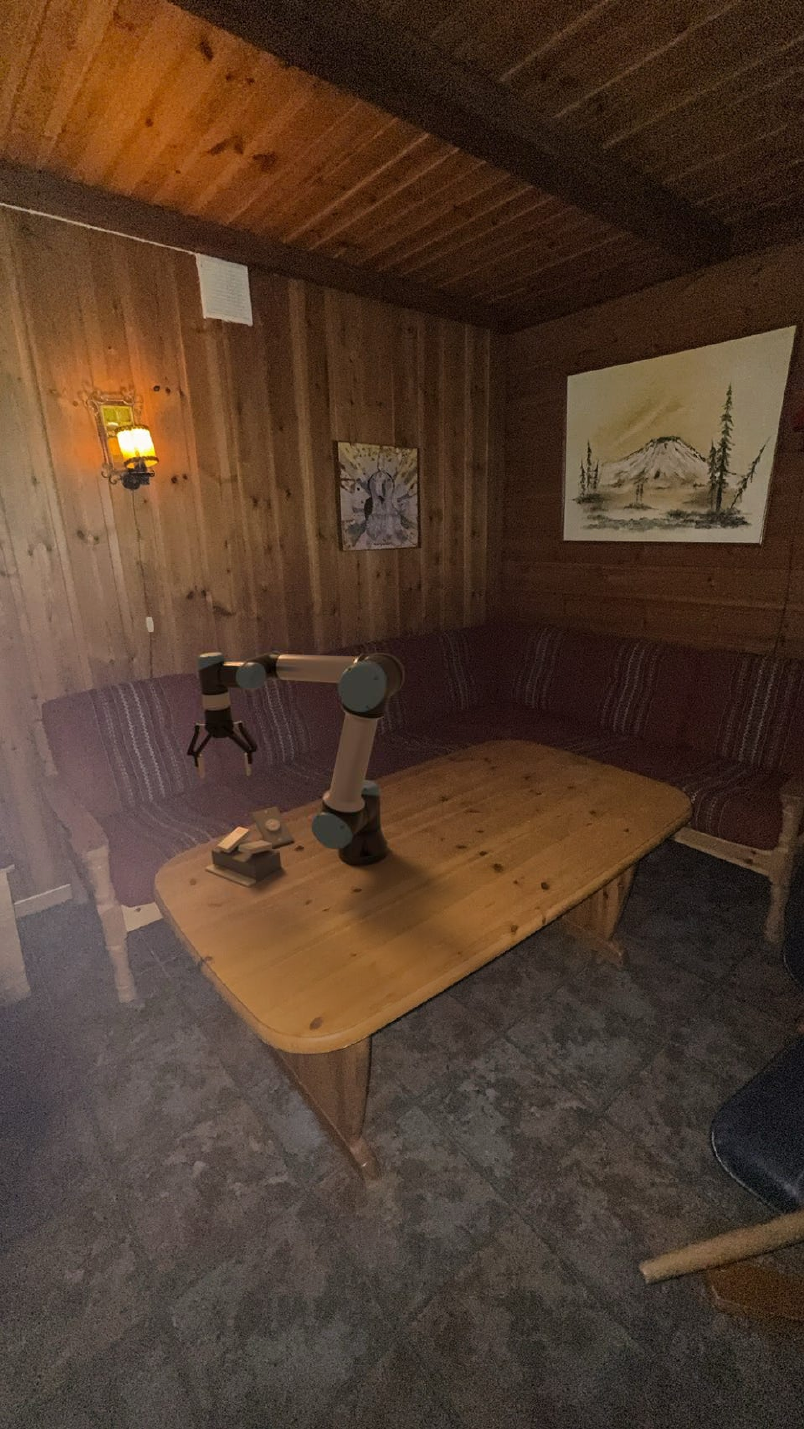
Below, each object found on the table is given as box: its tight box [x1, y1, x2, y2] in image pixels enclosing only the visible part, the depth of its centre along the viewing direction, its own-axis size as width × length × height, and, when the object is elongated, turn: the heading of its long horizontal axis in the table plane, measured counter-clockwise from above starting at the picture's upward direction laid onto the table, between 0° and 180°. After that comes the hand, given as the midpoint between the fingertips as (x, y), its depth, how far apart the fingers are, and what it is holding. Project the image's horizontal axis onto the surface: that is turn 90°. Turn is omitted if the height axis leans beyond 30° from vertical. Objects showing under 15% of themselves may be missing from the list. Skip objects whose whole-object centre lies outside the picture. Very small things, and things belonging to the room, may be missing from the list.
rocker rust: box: [216, 826, 251, 853], centre depth 185 cm, size 4×9×2 cm, turn 147°
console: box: [204, 838, 282, 888], centre depth 183 cm, size 18×13×6 cm
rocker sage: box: [238, 839, 273, 855], centre depth 180 cm, size 4×9×2 cm, turn 147°
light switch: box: [251, 806, 295, 849], centre depth 201 cm, size 8×6×14 cm
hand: (225, 775), depth 186 cm, fingers open, 13 cm apart
